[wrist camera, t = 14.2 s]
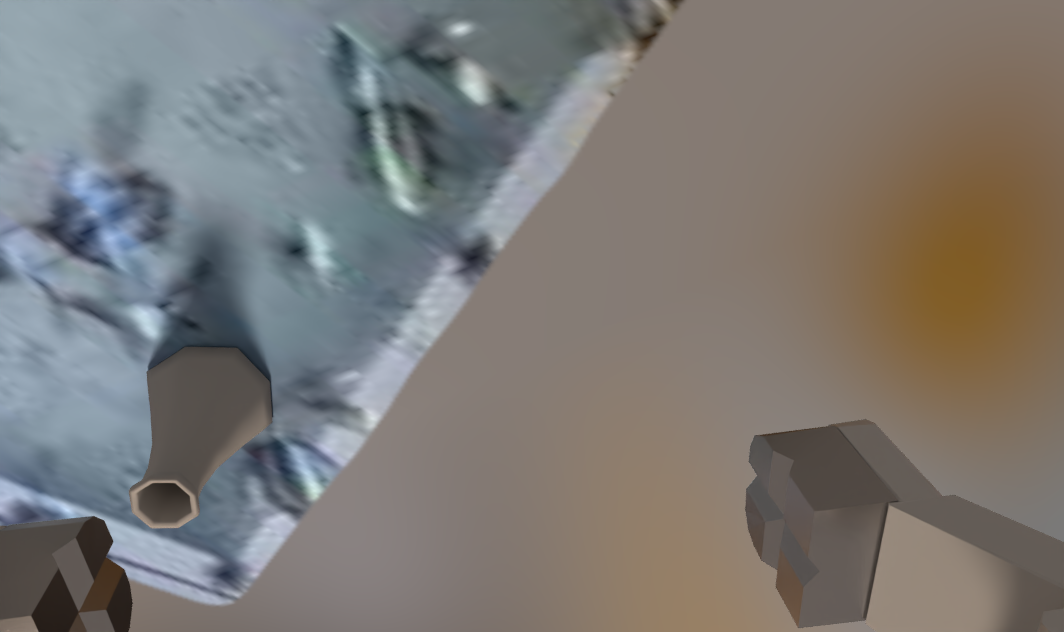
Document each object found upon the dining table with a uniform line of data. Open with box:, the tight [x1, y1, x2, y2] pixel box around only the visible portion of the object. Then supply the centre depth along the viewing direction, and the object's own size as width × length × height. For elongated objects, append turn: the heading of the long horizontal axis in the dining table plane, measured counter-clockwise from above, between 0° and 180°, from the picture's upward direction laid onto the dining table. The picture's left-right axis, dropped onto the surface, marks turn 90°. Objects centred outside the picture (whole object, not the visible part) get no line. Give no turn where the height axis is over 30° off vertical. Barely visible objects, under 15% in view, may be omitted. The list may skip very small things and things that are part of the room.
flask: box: [129, 347, 272, 528], centre depth 43 cm, size 7×7×10 cm
